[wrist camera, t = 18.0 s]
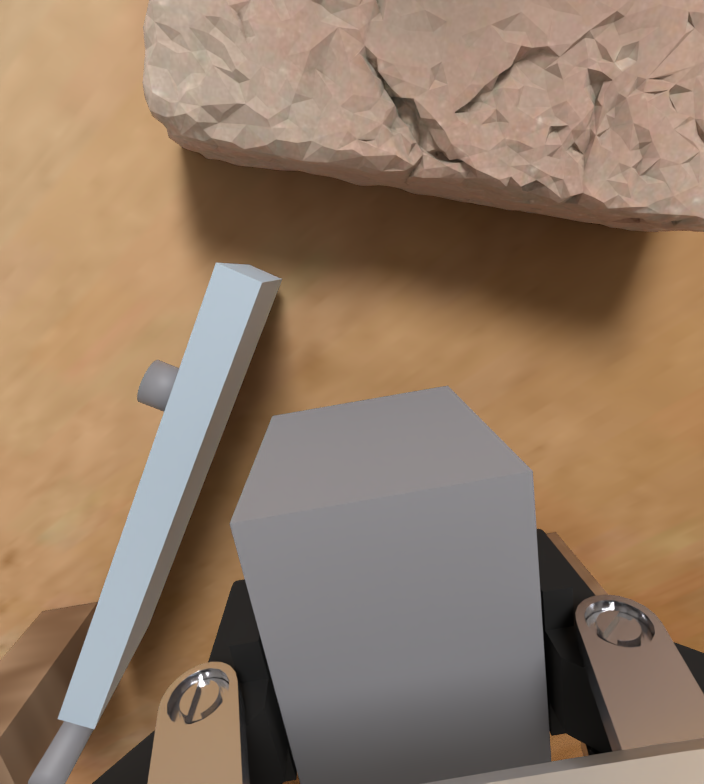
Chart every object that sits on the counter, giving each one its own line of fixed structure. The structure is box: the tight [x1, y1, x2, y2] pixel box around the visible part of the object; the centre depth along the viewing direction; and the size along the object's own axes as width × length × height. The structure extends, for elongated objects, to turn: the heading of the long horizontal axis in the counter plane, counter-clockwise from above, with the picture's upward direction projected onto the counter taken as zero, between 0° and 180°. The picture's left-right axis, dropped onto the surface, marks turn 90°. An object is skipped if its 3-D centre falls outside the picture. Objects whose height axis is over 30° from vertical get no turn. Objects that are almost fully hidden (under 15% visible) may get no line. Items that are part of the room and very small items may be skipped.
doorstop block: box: [230, 386, 551, 784], centre depth 10 cm, size 4×8×5 cm, turn 10°
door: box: [28, 263, 282, 784], centre depth 15 cm, size 17×2×6 cm, turn 156°
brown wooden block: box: [0, 602, 98, 784], centre depth 17 cm, size 2×3×6 cm
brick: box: [143, 0, 704, 232], centre depth 13 cm, size 17×8×5 cm, turn 81°
